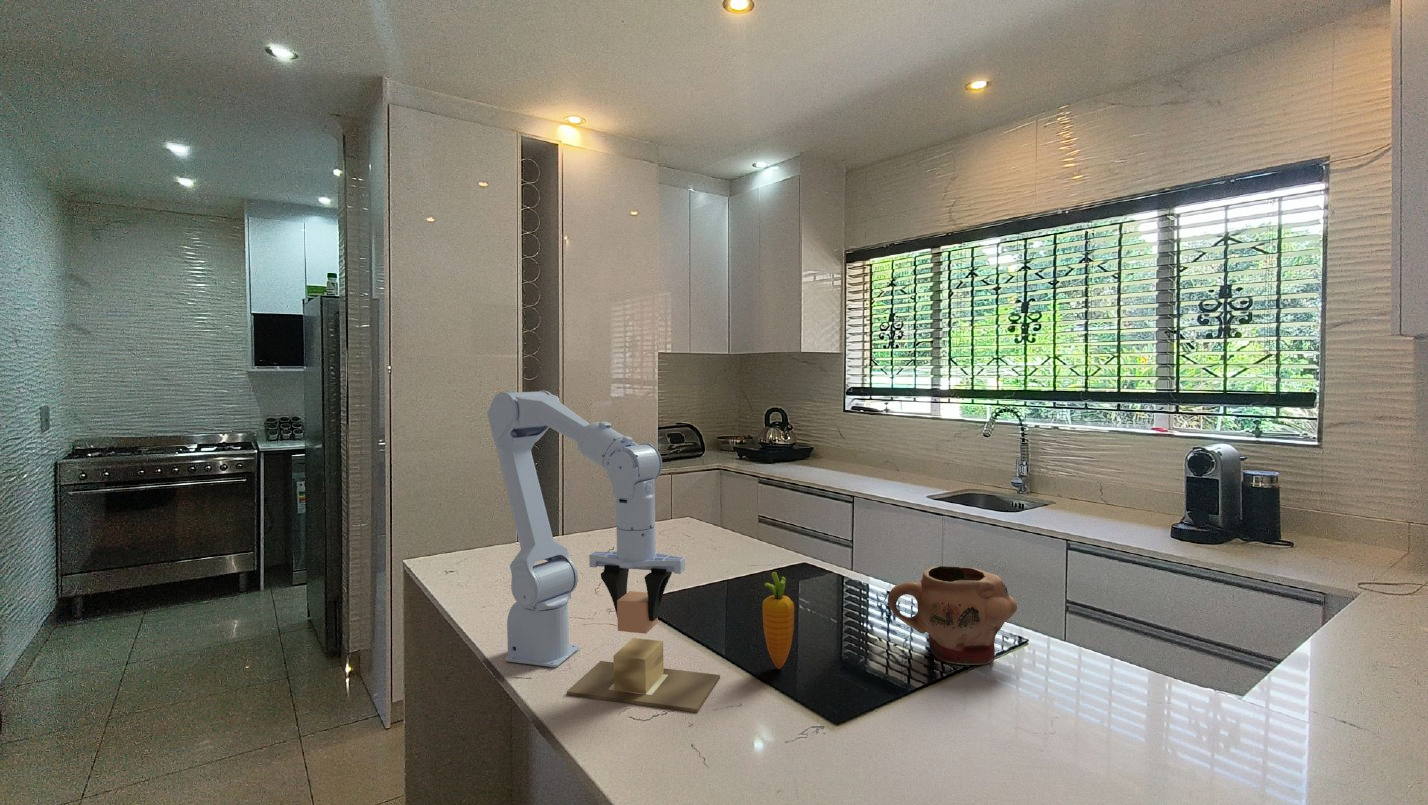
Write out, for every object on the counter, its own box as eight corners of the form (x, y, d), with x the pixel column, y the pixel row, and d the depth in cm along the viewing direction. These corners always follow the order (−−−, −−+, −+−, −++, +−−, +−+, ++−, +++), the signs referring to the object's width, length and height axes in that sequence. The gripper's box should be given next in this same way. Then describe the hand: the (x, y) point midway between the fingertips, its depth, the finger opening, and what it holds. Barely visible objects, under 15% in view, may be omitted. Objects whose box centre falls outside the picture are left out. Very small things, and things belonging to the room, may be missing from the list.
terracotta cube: (617, 630, 100) (617, 600, 100) (630, 620, 105) (629, 591, 104) (646, 633, 99) (645, 603, 99) (657, 622, 103) (657, 593, 103)
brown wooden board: (566, 694, 99) (566, 691, 99) (600, 663, 110) (600, 660, 110) (697, 712, 94) (697, 708, 94) (720, 678, 104) (719, 674, 104)
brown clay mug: (898, 672, 105) (898, 583, 105) (881, 641, 117) (880, 561, 117) (1030, 672, 105) (1030, 582, 104) (998, 641, 117) (998, 560, 116)
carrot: (793, 677, 104) (792, 579, 104) (761, 674, 105) (759, 578, 105) (796, 663, 109) (795, 570, 108) (765, 661, 110) (764, 569, 109)
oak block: (614, 689, 100) (613, 655, 99) (633, 669, 106) (632, 637, 106) (645, 693, 98) (645, 659, 98) (663, 673, 105) (663, 641, 105)
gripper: (578, 529, 99) (580, 622, 100) (672, 535, 95) (674, 631, 96) (600, 519, 106) (602, 606, 107) (689, 524, 102) (690, 614, 102)
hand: (637, 617), depth 102 cm, fingers closed on terracotta cube, 4 cm apart
